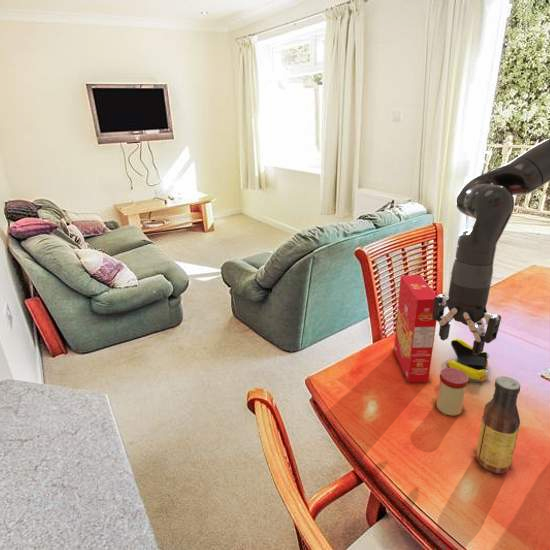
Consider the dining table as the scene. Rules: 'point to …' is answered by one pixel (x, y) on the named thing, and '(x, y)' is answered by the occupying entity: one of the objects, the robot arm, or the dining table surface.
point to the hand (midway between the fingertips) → (459, 345)
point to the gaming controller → (469, 361)
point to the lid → (454, 378)
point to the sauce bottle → (499, 427)
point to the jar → (450, 399)
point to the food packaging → (415, 328)
